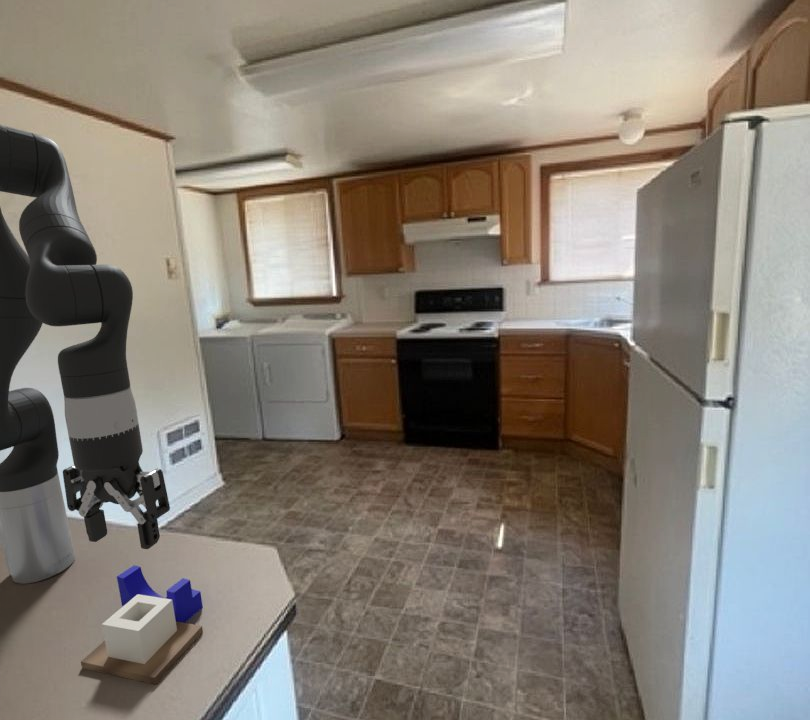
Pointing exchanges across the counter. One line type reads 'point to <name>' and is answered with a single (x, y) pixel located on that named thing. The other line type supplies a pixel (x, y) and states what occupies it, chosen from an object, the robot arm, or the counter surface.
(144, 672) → the pin base
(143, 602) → the white hollow square block
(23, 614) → the counter surface
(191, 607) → the blue curved saddle bracket
